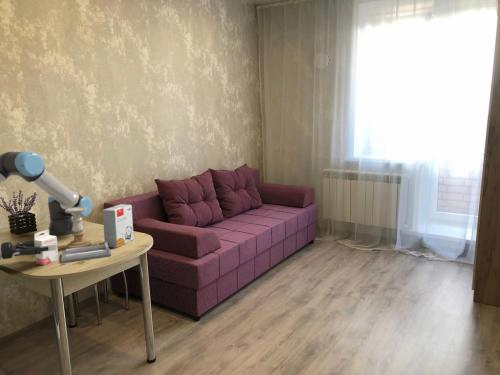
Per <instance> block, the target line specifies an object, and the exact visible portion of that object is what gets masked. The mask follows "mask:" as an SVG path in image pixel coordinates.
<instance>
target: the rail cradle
mask: <svg viewBox="0 0 500 375" xmlns="http://www.w3.org/2000/svg"><path fill="white" fill-rule="evenodd" d="M110 248H111V247H109V245H108V244H107V241H105V240H104V244H96V245H91V246H87V247H80V248H72V249H68V248H66V249H65V251H61V264H65V263H72V262H78V261H85V260H92V259H99V258H107V257H112V254H111V249H110Z"/></svg>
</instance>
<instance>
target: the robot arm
mask: <svg viewBox="0 0 500 375" xmlns="http://www.w3.org/2000/svg"><path fill="white" fill-rule="evenodd" d="M11 176H18V177H20V178H22V179H23V180H24V181H26V182H27V183H33V184H35V185H36V186H37V187H39V188H40V189H41V190H42V191H44V192H45V193H47V195H49V196H48V197H47V205H48V213H49V225H48V229H49V235H51V236H56V237H57V236H66V235H72V234H73V232H74V231H73V230H72V227H73V221H72V219H73V215H71V213H66V212H65V210H66V209H68V208H73V207H86V208H87V210H86V211H84V212H82V213H81V215H80V217H81V218H86V217H88V216H89V215H90V214H91V212H92V209H93V202H92V200H91V199H90V197H87V196H82V195H80V193H78V191H72V190H70V189H69V188H68V187H67V186H66V185H64V184H63V182H60V181H59V180H58V179H57V178H56V177H54V175H53V174H51V173H50V172H49V171H47V170H46V166H45V164H44V159H43V158H42V157H41V156H40V155H39V154H38V153H36V152H30V151H6V152H4V153H2V154H0V184H2V182H5V181H7V179H8V178H9V177H11ZM48 229H47V230H48ZM57 245H58V242H57ZM57 249H58V246H57V247H56V244H52V245H44V246H40V247H35V243H34V239H33V240H28V241H21V242H20V241H19V242H17V244H14V245H13V244H12V242H11V241H5V242H1V243H0V260H2V259H3V260H8V259H9V260H10V259H13V257H18V256H19V257H20V256H29V255H30V256H31V255H36V254H41V252H46V251H53V250H57Z"/></svg>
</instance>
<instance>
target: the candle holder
mask: <svg viewBox="0 0 500 375" xmlns="http://www.w3.org/2000/svg"><path fill="white" fill-rule="evenodd" d="M86 210H87V208H86V207H73V208H68V209H66V210H65V212H66V213H71V215H73V216H72V221H73V227H72V230H73V231H74V232H73V233H71V235H72V236H73V240H71V241H70V242H69V243H67V244H66V249H72V248H80V247H87V246H93V242H92V241H91V240H89V239H87V238H84V235H85V232H84V231H83V230H84V225H83V223H82V220H83V217H80V215H81V213H82V212H84V211H86Z"/></svg>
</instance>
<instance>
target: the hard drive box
mask: <svg viewBox="0 0 500 375" xmlns="http://www.w3.org/2000/svg"><path fill="white" fill-rule="evenodd" d="M102 219H103V222H102V224H103V234H104V235H103V236H104V238H103V239H104V241H107V244H108V245H109V248H113V249H114V248H116V249H117V248H119V247H122V246H123V245H125V244H128V243H130V242H132V241H133V239H134V226H133V206H132V204H122V203H121V204H117V205H114V206H111V207H108V208H104V209H103V210H102ZM131 240H132V241H131ZM129 241H130V242H129ZM127 242H128V243H127Z"/></svg>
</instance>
